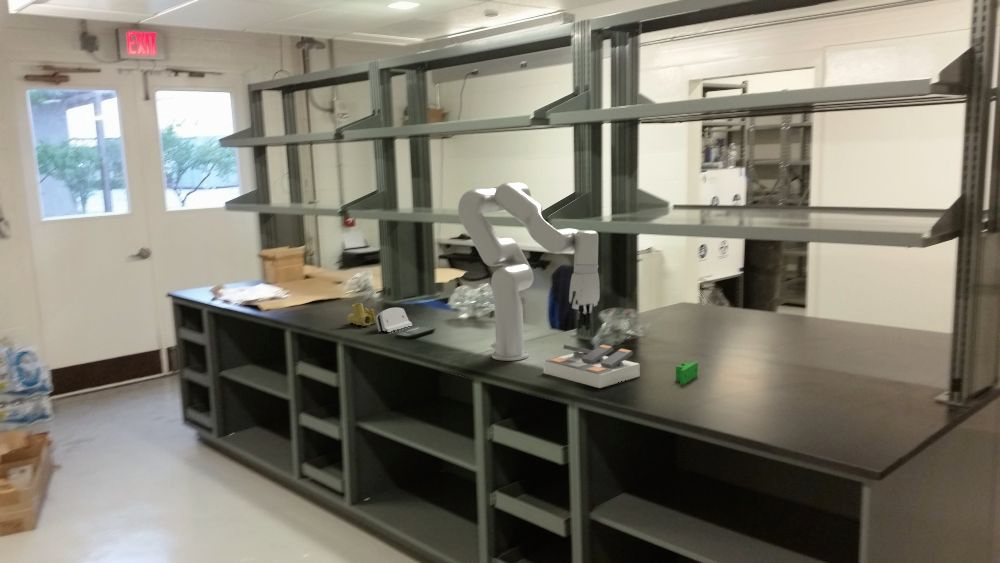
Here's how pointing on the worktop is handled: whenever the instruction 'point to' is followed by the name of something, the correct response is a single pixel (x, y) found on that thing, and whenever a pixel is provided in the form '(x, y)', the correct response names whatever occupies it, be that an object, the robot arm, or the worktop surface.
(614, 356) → the rocker
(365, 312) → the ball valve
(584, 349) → the block
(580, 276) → the robot arm
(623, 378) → the switch unit
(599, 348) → the rocker
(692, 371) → the pipe clamp
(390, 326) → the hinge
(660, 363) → the worktop surface
